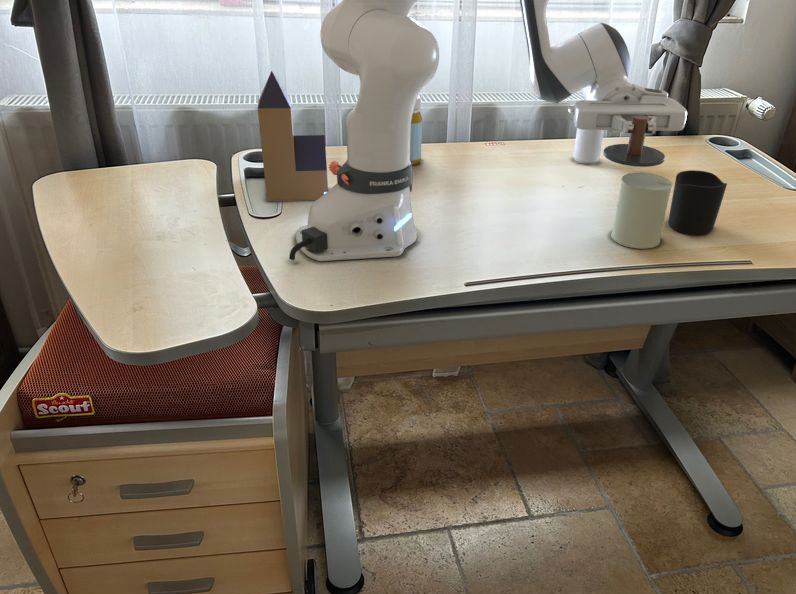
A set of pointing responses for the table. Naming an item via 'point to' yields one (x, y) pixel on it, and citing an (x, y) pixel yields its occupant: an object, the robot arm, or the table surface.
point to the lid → (635, 148)
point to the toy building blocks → (288, 150)
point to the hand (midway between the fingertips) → (640, 129)
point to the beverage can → (588, 146)
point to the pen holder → (696, 202)
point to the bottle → (416, 133)
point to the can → (641, 210)
